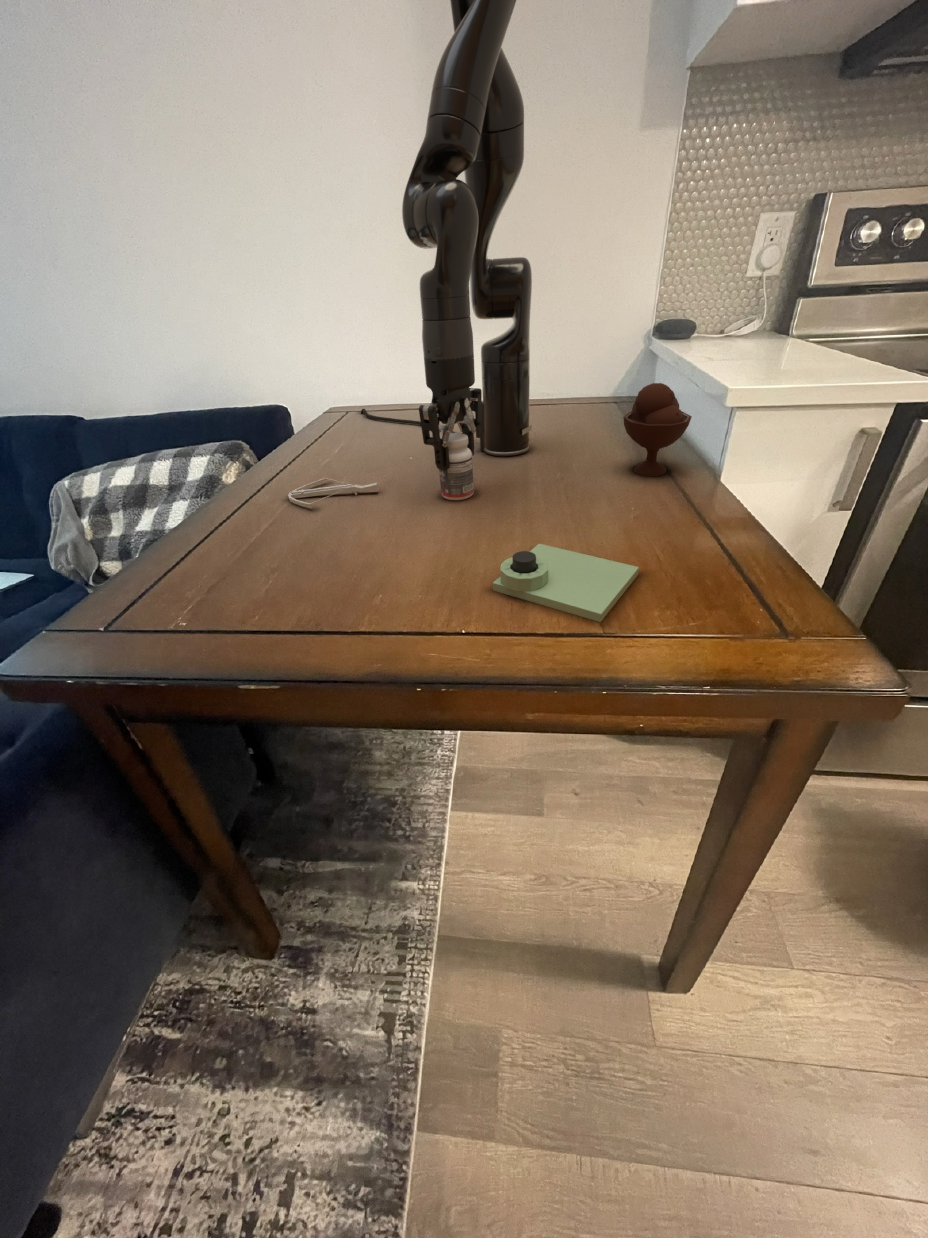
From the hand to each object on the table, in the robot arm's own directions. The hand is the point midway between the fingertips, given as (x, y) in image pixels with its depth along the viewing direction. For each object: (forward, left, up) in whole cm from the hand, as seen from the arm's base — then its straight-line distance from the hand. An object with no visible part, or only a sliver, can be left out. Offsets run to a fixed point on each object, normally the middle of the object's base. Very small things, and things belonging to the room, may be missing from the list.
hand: (455, 461), depth 90 cm
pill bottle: (0, 0, -6) cm, 6 cm away
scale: (+29, -18, -6) cm, 35 cm away
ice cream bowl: (+25, +25, -6) cm, 36 cm away
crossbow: (-20, -10, -6) cm, 23 cm away
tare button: (+25, -21, -3) cm, 33 cm away
